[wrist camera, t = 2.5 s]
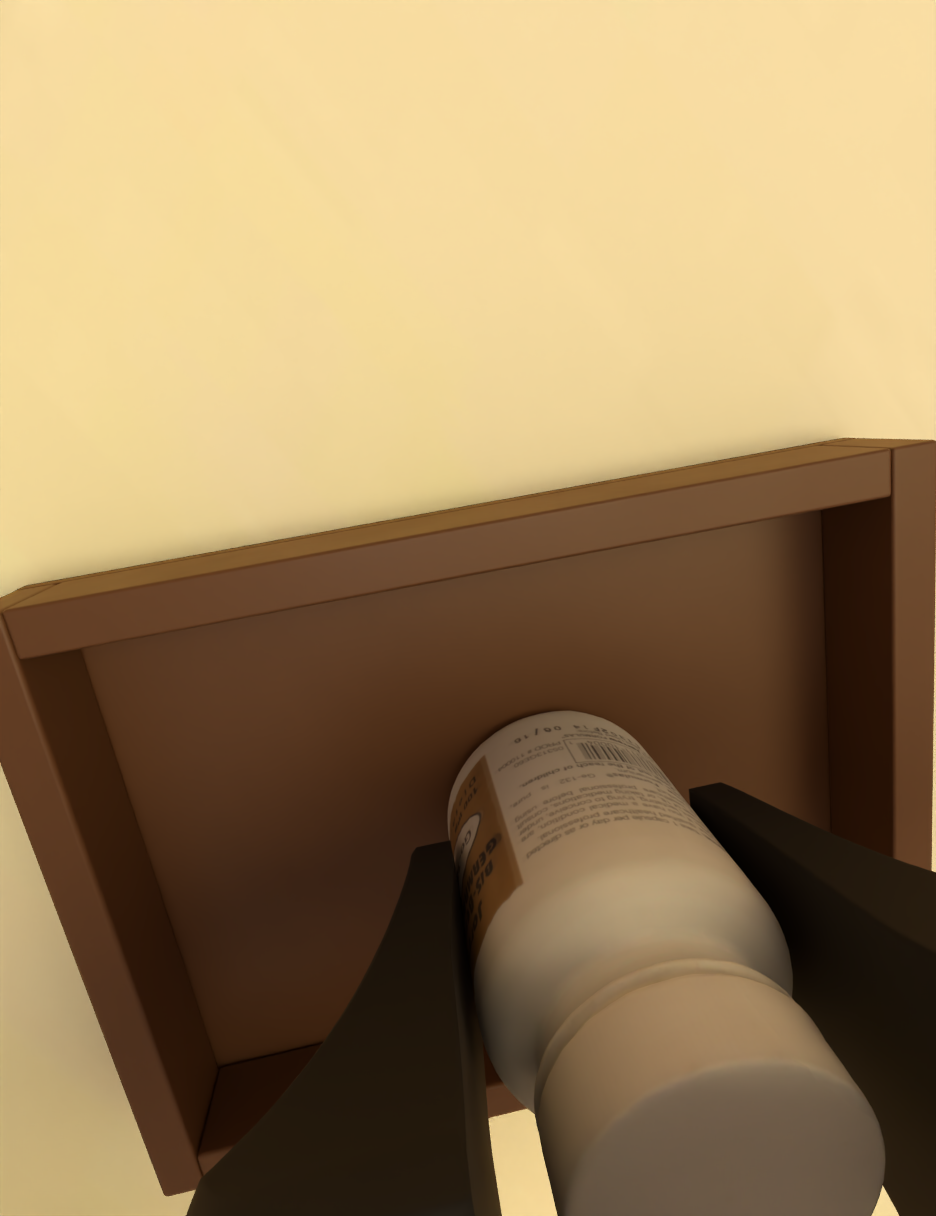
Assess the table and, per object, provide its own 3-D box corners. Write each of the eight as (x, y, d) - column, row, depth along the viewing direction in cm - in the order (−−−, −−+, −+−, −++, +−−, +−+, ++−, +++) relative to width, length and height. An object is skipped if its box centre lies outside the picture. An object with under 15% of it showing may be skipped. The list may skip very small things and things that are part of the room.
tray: (195, 1086, 16) (163, 1200, 13) (23, 585, 13) (-57, 621, 10) (855, 931, 17) (931, 1012, 14) (845, 437, 14) (938, 439, 11)
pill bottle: (412, 754, 14) (447, 1137, 6) (619, 672, 14) (892, 954, 6) (488, 926, 15) (592, 1417, 8) (678, 850, 15) (966, 1262, 8)
